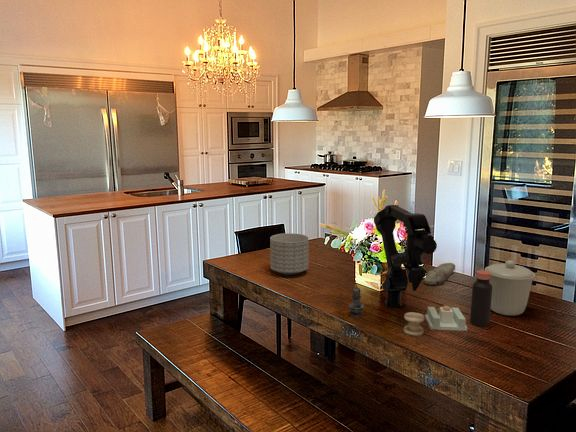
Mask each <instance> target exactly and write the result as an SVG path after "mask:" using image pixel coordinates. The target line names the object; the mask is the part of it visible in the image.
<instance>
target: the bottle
mask: <svg viewBox="0 0 576 432" xmlns="http://www.w3.org/2000/svg"><path fill="white" fill-rule="evenodd" d="M475 273H476V274H475V278H476V281H474V282H473V283H472V289H471V291H472V292H471V302H470V304H471V305H470V315H469V317H470V318H469V322H470V323H471V324H472V325H474V326H476V327H488V326H489V325H490V320H491V319H490V318H491V298H492V285H491V284H490V283H489V280H490V277H491V273H490V272H488V271H485V269H484V270H482V269H481V270H477V271H476V272H475Z"/></svg>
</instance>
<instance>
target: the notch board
mask: <svg viewBox="0 0 576 432" xmlns="http://www.w3.org/2000/svg"><path fill="white" fill-rule="evenodd" d="M451 309H452V311H453V322H452V323H441V321H440V317H439V313H438V312H437V309H436V308H435V306H427V311H426V312H427V314H424V319H425V321H426V323H427V324H428V325H427V326H428V327H429V329H430V330H438V331H442V330H443V331H461V332H463V331H465V332H467V331H468V326H467V325H466V318H465V316H464V315H463V313H462V312H461V310H460V308H459V307H451Z"/></svg>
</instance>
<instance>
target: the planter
mask: <svg viewBox="0 0 576 432" xmlns="http://www.w3.org/2000/svg"><path fill="white" fill-rule="evenodd" d="M269 239H270V240H269V241H270V242H269V243H270V244H269V246H270V247H269V252H270V253H269V254H270V257H269V261H270V265H269V266H270V269H271V270H273V271H275V272H277V273H279V274H281V275H283V276H284V275H285V276H294V275H295V276H296V275H299V274H300V273H302V272H304V271H306V270H308V269H309V237H308V235H305V234H302V233H294V232H293V233H291V232H289V233H288V232H287V233H285V232H283V233H277V234H274V235H271V236H270V237H269Z"/></svg>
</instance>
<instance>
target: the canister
mask: <svg viewBox="0 0 576 432" xmlns="http://www.w3.org/2000/svg"><path fill="white" fill-rule="evenodd" d="M484 271H488V272H490V273H491V277H490V280H489V283H490V284H491V285H492V298H491V309H490V311H493V312H494V313H496V314H499V315H504V316H510V317H511V316H513V317H514V316H519V315H521V314H523V313H524V312H525V311H526V307H527V305H528V302H529V297H530V293H531V288H532V283H533V279H534V278H535V277H536V273H534V272H533V271H532V270H531V269H529V268H527V267H525V266H522V265H517V264H516V262H515V261H514V260H511V259H508V260H506V261H505V263H492V264H490V265H488V266H486V267H485V268H484Z"/></svg>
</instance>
